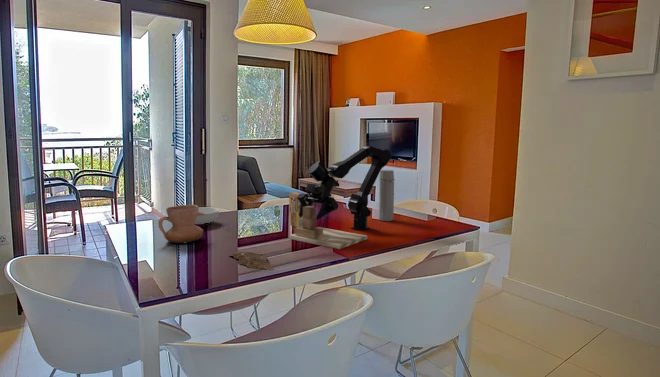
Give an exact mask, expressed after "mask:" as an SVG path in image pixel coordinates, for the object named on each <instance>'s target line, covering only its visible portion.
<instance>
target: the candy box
mask: <svg viewBox="0 0 660 377" xmlns="http://www.w3.org/2000/svg"><path fill="white" fill-rule="evenodd" d="M288 194H289V196H288V197H289V198H288V200H289V205H288V206H289V225H290V226H292V227H295V228H297V227H301V226H303V216H302V217H300V216H299V212H300V206H301V203H300V202H299V200H298V199H297V197H298V195H299V194H301V193H300V192H290V193H288Z"/></svg>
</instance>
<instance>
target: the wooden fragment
mask: <svg viewBox="0 0 660 377" xmlns="http://www.w3.org/2000/svg"><path fill="white" fill-rule="evenodd" d="M233 253H234V254H233ZM233 253H231V254H232V255H233V256H234V257H235V258H234V259H235V260H236V259H239V260H238V264H239V265H243V266H245V267H246V268H249V269H261V270H267V271H274V270H275V269H274V268H273V265H272V264H271V262H270V260H269V259H268V257H266V255H264V254H261V253H254V252H249V251H244V250H238V251H236V252H233ZM236 253H238V254H236ZM241 253H244V255H241ZM263 255H264V256H263ZM236 256H238V257H236Z"/></svg>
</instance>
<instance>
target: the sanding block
mask: <svg viewBox="0 0 660 377" xmlns="http://www.w3.org/2000/svg"><path fill="white" fill-rule="evenodd" d="M315 214H316V206H312V205H310V206H305V207H303V226H301V227H295V228H294V234H295V235H297V236H302V237H307V238H312V239H315V238H318V237H321V236H323V229H321V228H322V227H321V228H317V227H316V215H315Z"/></svg>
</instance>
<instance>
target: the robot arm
mask: <svg viewBox="0 0 660 377" xmlns="http://www.w3.org/2000/svg"><path fill="white" fill-rule="evenodd" d="M368 157H370V160H371V161H370V162H371V164H370V167H369V169H368V171H367V173H366V174H365V177H364V179H363V182H362V183H361V185H360V187H359V189H358V191H357V192H356V193H351V195H350V198H349V199H348V201H347V202H348V203H347V208H348V210H349V211H350V214H351V215H353V226H351V227H350V228H351V230H352V229H353V230H358V231H365V230H368V229H371V227H370V226H368V217H371V214H372V211H371V209H370V208H369V207H368V206H369V199H368V198H369V195H370V193H371V190H372V188H373V186H374V185H375V182H376V180H377V178H379V177H378V176H380V170H383V168H384V167H385V166H387V164H388V163H390V160H391V158H392V152H391V151H390V150H389V149H385V148H383V149H382V148H377V147H374V146H371V145H363V147H362V148H360V149H359V150H357V151H356V152H354V153H353V154H351V155H350V156H349V157H346V159H344V160H340V161H338V162H336V163H333V164H331V165H330V166H329V167H326V166H325V165H324V164H323V163H322V162H321V161H320V160H319V161H316V162H315V163H314V164H312V165H311V166H309V168H308V170H307V173H308V175H310V176H311V177H312V178H313V179H314V180H315V182H320V183H318V184H315V183H307V184H306V187H305V192H308V193H310V194H309V195H310V196H309V195H308V194H307V193H300V194H299V195H298V197H297V199H298V200H299V202H300V203H301V206H300V212H299V216H300V217H302V216H303V207H305V206H312V204H317V205H321V207H320V209H319V211H318V213H317V215H316V216H315V220H317V221H319V220H320V219H322V218H323V217H324V216H326V215H328V214H330V213H333V212H335V211H337V210H338V209H339V203H338V202H337V200H336V199H335V197H331V196H332V194H331V193H332V190H333V189H334V188H339V187H340V183H339V180H338V179H343V178H345V177H346V176H347V175H348V174H349V172H350V171H351V169H352V168H354V167H355V166H356V165H358V164H359V163H361V162H362V161H364V160H366V158H368ZM336 179H337V180H336Z"/></svg>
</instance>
